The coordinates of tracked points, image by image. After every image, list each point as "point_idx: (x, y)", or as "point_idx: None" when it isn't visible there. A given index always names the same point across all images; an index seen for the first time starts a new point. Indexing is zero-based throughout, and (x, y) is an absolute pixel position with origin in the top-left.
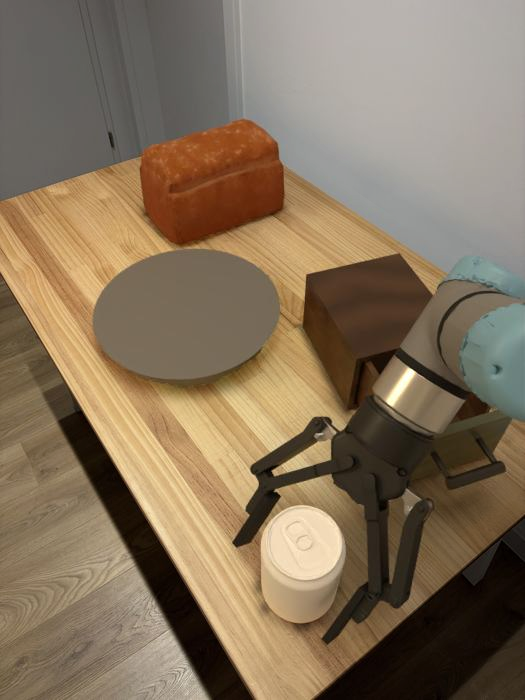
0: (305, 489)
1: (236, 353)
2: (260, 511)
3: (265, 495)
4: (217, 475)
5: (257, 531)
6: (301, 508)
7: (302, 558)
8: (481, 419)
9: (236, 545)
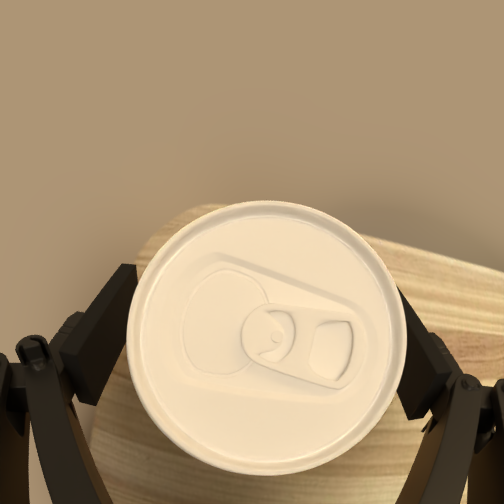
0: (356, 482)
1: None
2: (420, 345)
3: (446, 375)
4: None
5: None
6: (363, 422)
7: (236, 287)
8: None
9: None
